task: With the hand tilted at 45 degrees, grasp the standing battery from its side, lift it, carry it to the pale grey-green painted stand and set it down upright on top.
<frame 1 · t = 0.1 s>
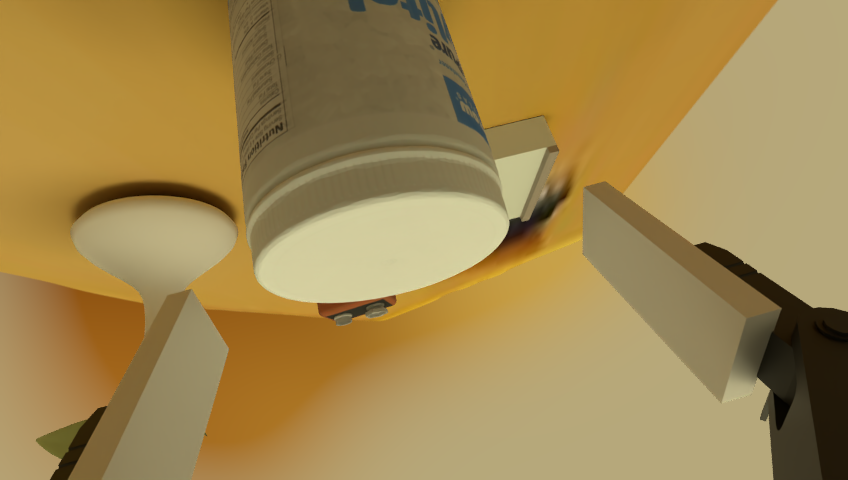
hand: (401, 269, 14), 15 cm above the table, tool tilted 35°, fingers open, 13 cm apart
flower in vase: (150, 214, 35), on the table
stand: (464, 174, 41), on the table
battery: (342, 226, 45), on the table
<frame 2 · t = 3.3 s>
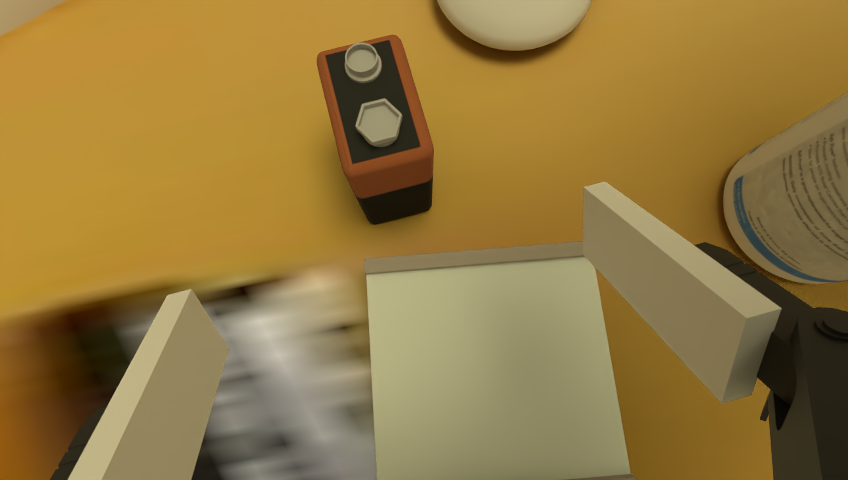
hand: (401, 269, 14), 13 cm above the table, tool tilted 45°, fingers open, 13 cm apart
stand: (484, 365, 26), on the table
supplement tub: (785, 213, 28), on the table
battery: (389, 173, 29), on the table
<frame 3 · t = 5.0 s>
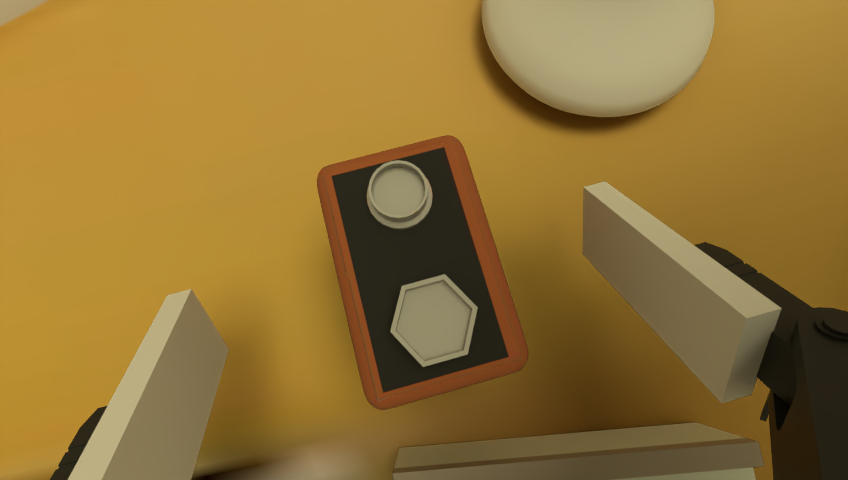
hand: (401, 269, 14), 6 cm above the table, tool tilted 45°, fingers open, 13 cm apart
flower in vase: (592, 30, 23), on the table
battery: (421, 295, 20), on the table
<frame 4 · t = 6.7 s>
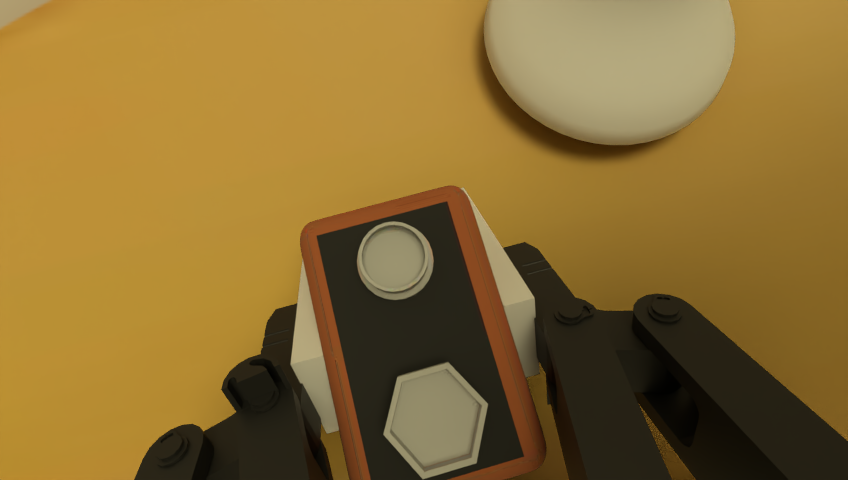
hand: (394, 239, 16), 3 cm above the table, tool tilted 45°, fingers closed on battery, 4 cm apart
flower in vase: (601, 49, 22), on the table
battery: (421, 338, 19), on the table, touching gripper
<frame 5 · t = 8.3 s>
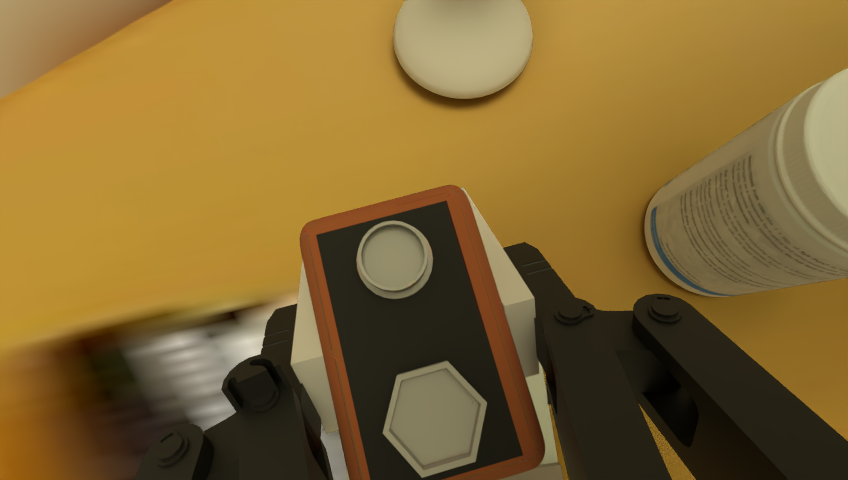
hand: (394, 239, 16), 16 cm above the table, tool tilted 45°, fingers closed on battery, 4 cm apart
flower in vase: (467, 45, 37), on the table
stand: (441, 374, 30), on the table
supplement tub: (699, 235, 33), on the table
battery: (421, 338, 19), point 13 cm above the table, touching gripper
when the fingers open (7 cm above the table, at t = 10.4 s): battery drops 1 cm, resting on stand.
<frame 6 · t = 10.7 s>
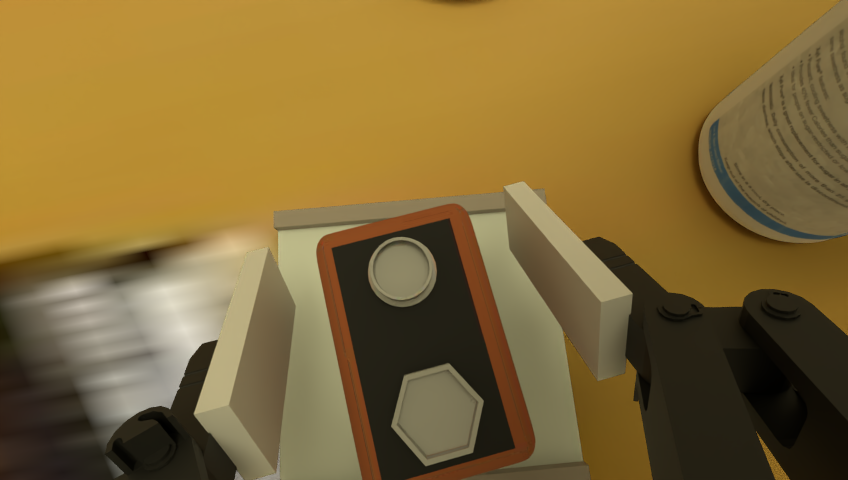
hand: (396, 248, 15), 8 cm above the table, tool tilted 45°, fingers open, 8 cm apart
stand: (421, 338, 22), on the table
supplement tub: (770, 166, 25), on the table
battery: (422, 340, 20), point 3 cm above the table, touching stand
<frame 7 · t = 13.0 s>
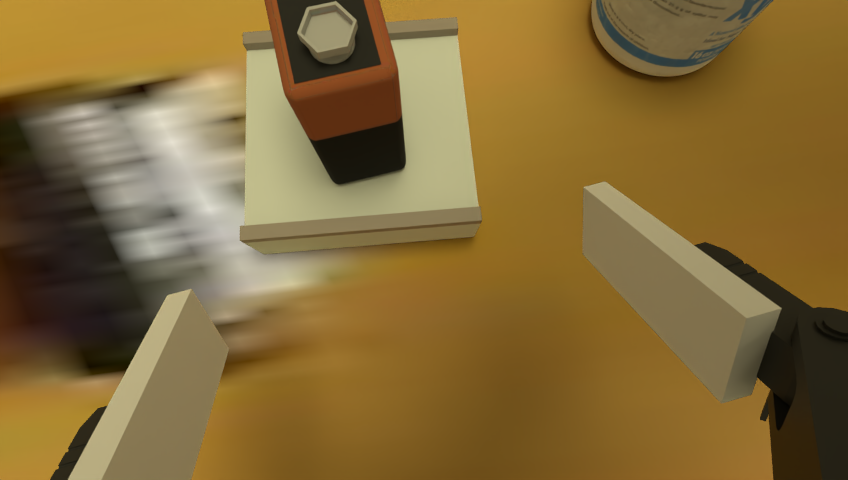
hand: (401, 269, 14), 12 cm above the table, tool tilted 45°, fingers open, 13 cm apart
stand: (364, 149, 28), on the table
supplement tub: (651, 25, 31), on the table
battery: (358, 129, 25), point 3 cm above the table, touching stand
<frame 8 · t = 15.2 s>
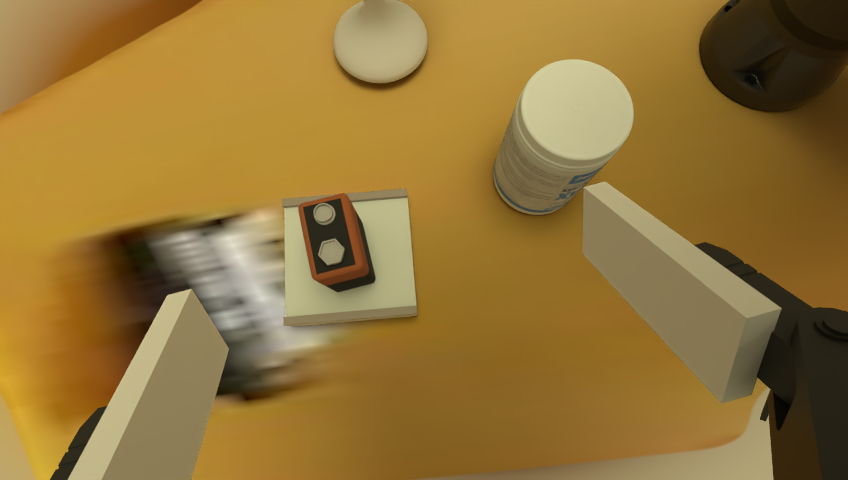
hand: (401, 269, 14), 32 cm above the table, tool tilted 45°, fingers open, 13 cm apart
flower in vase: (387, 47, 53), on the table
stand: (353, 260, 47), on the table
supplement tub: (532, 177, 49), on the table
battery: (349, 256, 44), point 3 cm above the table, touching stand
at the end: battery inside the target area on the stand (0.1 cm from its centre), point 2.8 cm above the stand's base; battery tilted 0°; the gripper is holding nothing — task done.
